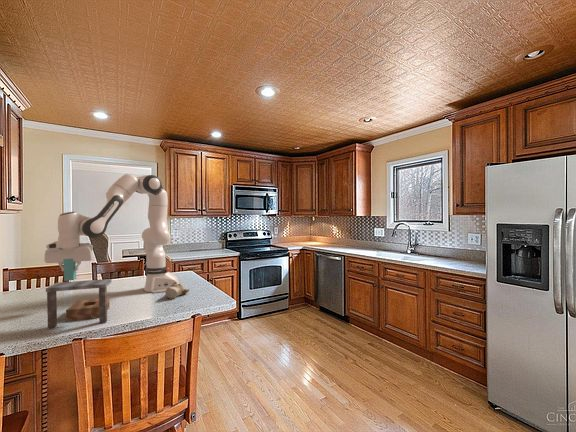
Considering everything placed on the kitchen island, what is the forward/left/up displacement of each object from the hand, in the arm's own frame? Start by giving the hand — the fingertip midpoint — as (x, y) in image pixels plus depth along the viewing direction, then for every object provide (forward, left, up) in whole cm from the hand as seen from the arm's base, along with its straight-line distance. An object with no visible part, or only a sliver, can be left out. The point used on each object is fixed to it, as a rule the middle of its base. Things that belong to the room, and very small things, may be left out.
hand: (70, 270), depth 149 cm
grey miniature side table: (-12, +17, -19) cm, 29 cm away
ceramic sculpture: (-50, -4, -20) cm, 54 cm away
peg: (0, 0, -5) cm, 5 cm away
